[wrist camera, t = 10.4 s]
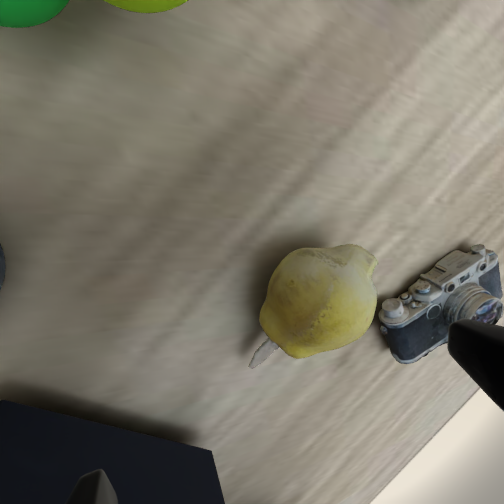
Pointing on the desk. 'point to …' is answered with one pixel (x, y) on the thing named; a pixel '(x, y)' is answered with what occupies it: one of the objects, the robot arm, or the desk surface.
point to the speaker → (97, 461)
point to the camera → (442, 303)
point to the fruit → (318, 301)
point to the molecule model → (51, 3)
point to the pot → (2, 266)
